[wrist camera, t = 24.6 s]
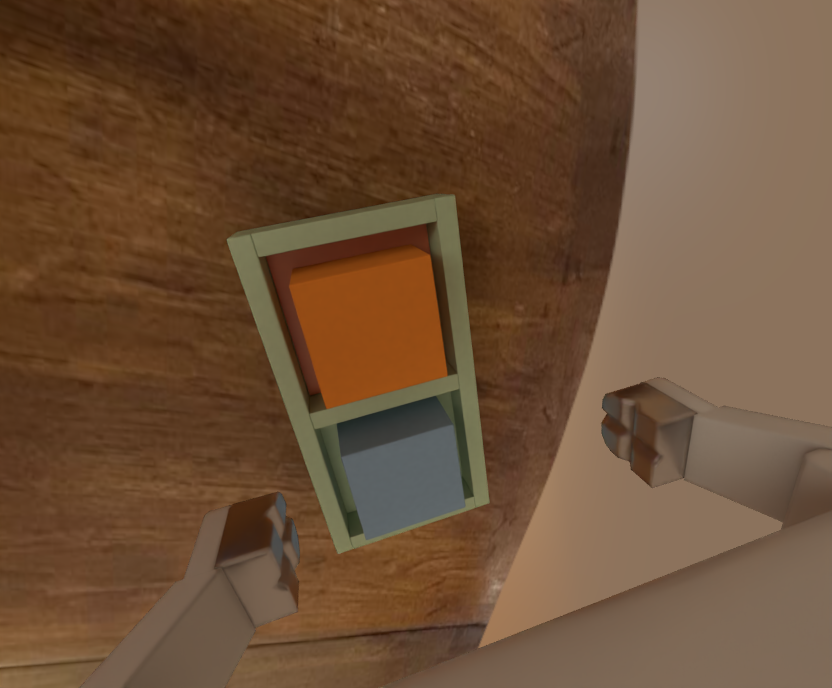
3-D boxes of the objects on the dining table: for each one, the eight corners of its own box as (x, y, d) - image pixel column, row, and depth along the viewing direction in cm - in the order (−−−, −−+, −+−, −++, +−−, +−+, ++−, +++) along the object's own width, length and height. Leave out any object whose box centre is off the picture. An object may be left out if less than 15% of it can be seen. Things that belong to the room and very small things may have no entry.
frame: (437, 193, 20) (455, 194, 18) (474, 476, 28) (489, 503, 25) (235, 231, 18) (225, 238, 16) (334, 521, 26) (337, 555, 24)
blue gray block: (434, 392, 24) (453, 423, 20) (446, 468, 26) (466, 507, 23) (335, 419, 23) (340, 457, 19) (358, 496, 25) (365, 541, 22)
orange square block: (411, 243, 20) (430, 254, 17) (428, 349, 22) (448, 376, 19) (291, 268, 19) (288, 285, 16) (323, 377, 21) (326, 410, 18)
